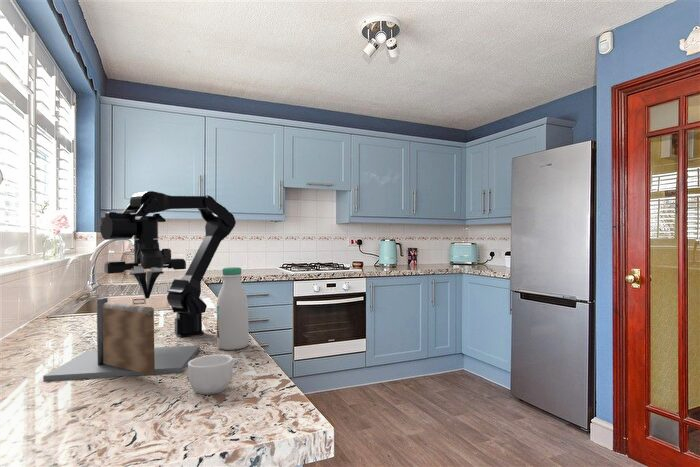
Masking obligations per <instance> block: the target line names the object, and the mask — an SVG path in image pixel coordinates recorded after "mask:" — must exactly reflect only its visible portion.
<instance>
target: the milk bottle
mask: <svg viewBox="0 0 700 467" xmlns="http://www.w3.org/2000/svg"><path fill="white" fill-rule="evenodd" d="M241 276H242V268H241V267H233V266H232V267H224V268H222V278H223V282H222V285H221V288H220V290H219V292H218V295H217V299H216V345H217V348H218V349H220V350H224V351H234V350H240V349H244V348H246V347H248V346H249V342H250V341H249V338H250V335H249V333H250V332H249V331H250V330H249V327H250V326H249V301H248V296H247V292H246V290H245V288H244V286H243V284H242V279H241Z"/></svg>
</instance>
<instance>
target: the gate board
mask: <svg viewBox="0 0 700 467" xmlns="http://www.w3.org/2000/svg"><path fill="white" fill-rule="evenodd" d="M200 350H201V345H199V344H195V345H194V344H193V345H175V346H160V347H159V346H158V347H155V346H154V358H155V372H153V373H150V374H149V375H160V374H162V375H163V374H177V373H182V372H183V371H184V370H185V369H186V367H188V362H189V361H190V360H192V359H194V357H195V356H196V355H197V353H198V352H199V351H200ZM143 375H145V376H146V375H148V374H145V373H141V372H136V371H132V370H128V369H124V368H120V367H116V366H112V365H107V364H106V365H98V359H97V350H86V351H84V352H83V353H81V354H79V355H78V356H76V357H74V358H71V360H70V359H69V361H67V362H66V363H64V364H62V365H59V366H58V367H57V368H55V369H53V370H51V371H49V372H47V373H45V374H44V375H42V376H43V377H42V378H43V379H42V380H43V382H45V381H46V382H47V381H50V382H51V381H61V380H63V381H64V380H66V381H67V380H80V379H95V378H97V379H98V378H111V377H112V378H113V377H114V378H115V377H129V376H143Z"/></svg>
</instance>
